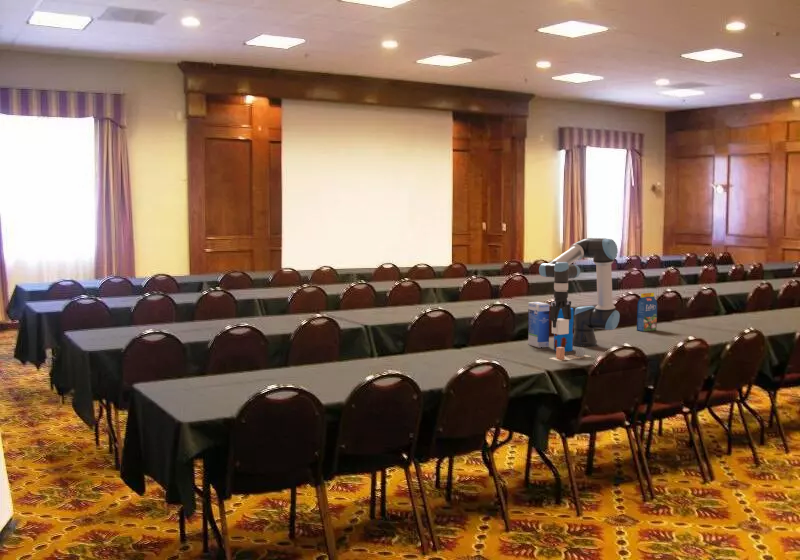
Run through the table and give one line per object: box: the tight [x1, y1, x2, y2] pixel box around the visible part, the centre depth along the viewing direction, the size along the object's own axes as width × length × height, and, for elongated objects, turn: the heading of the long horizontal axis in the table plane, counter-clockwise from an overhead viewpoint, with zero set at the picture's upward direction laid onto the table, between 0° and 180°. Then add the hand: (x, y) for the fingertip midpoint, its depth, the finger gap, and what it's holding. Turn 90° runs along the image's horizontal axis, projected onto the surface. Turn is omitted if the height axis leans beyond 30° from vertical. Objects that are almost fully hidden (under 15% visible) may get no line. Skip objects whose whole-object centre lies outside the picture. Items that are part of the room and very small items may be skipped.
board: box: [548, 353, 591, 362], centre depth 471 cm, size 24×9×1 cm, turn 124°
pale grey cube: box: [575, 347, 585, 357], centre depth 474 cm, size 3×3×4 cm
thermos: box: [553, 307, 575, 353], centre depth 492 cm, size 11×11×25 cm
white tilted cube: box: [551, 318, 569, 335], centre depth 466 cm, size 6×6×8 cm
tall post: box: [555, 347, 566, 359], centre depth 467 cm, size 3×3×6 cm
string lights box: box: [527, 301, 550, 349], centre depth 511 cm, size 13×8×26 cm, turn 20°
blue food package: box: [636, 292, 658, 332], centre depth 569 cm, size 6×12×25 cm, turn 120°
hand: (560, 332), depth 466 cm, fingers closed on white tilted cube, 6 cm apart
